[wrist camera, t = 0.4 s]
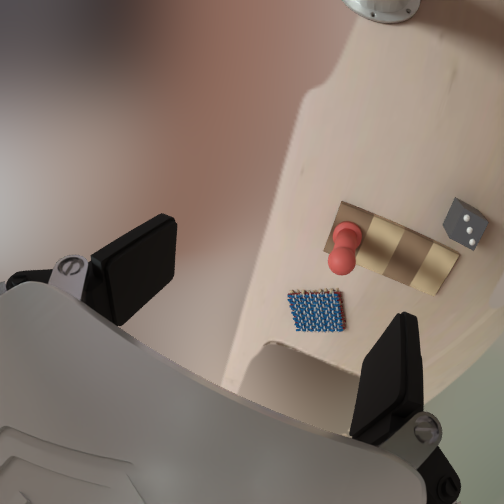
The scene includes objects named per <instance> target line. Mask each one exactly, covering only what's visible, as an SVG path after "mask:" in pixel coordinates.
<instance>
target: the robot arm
mask: <svg viewBox="0 0 504 504" xmlns="http://www.w3.org/2000/svg"><path fill="white" fill-rule="evenodd" d="M342 1H343V2H344V3H345V5H346V6H348V7H349V8H350V9H351V10H352V11H354V12H355V13H357V14H358V15H360V16H362V17H364V18H366V19H369V20H372V21H376V22H381V23H399V22H402V21H405V20H407V19H409V18H411V17H412V16H413V15H414V14H415V13H416V12H417V10H418V8H419V6H420V1H421V0H342ZM407 12H409V13H407ZM372 15H374V16H375V17H372ZM176 236H177V223H176V222H175V219H174V218H173V217H171V216H168V215H165V214H162V213H161V214H159V215H157V216H156V217H154V218H152V219H150V220H149V221H147V222H145V223H143V224H142V225H140V226H138V227H136V228H135V229H133V230H131V231H129V232H128V233H126V234H124V235H123V236H121V237H119V238H118V239H116V240H115V241H113V242H111V243H110V244H108V245H106V246H105V247H103V248H102V249H100V250H99V251H97V252H95V253H94V254H92V255H91V261H90V262H87V259H86V258H84V257H83V256H80V255H68V256H65V257H63V258H61V259H60V260H59V261H57V262H56V264H55V266H54V268H53V269H50V270H49V269H48V270H31V271H20V272H16V273H15V274H14V275H12V276H11V277H10V278H9V279H8V281H7V283H6V284H5V281H4V282H0V504H461V503H460V502H458V503H457V501H456V500H457V498H458V496H459V493H460V490H461V483H460V479H459V477H458V475H457V473H456V472H455V470H454V469H453V467H452V466H451V464H450V463H449V461H448V460H447V458H446V457H445V455H444V454H443V452H442V451H441V449H440V448H439V447H438V445H439V443H440V441H441V438H442V427H441V424H440V422H439V420H438V419H437V418H436V417H435V416H434V415H433V414H431V413H429V412H424V411H423V405H424V397H423V365H422V356H421V351H420V339H419V329H418V320H417V317H416V316H414V315H412V314H409V313H407V312H402V313H401V314H399V313H398V314H396V316H395V317H394V319H393V320H392V322H391V323H390V324H389V326H388V327H387V329H386V330H385V331H384V333H383V334H382V336H381V337H380V338H379V340H378V341H377V342H376V344H375V345H374V346H373V348H372V349H371V350H370V352H369V353H368V354H367V355H366V357H365V359H364V361H363V363H362V369H361V376H360V382H359V388H358V394H357V399H356V404H355V409H354V414H353V419H352V423H351V428H350V433H349V434H350V436H352V438H348V437H345V436H342V435H339V434H335V433H333V432H330V431H327V430H324V429H321V428H318V427H315V426H313V425H310V424H307V423H304V422H301V421H298V420H296V419H293V418H291V417H288V416H286V415H283V414H281V413H278V412H275V411H273V410H271V409H268V408H266V407H264V406H261V405H259V404H257V403H254V402H252V401H250V400H248V399H246V398H243V397H241V396H239V395H237V394H235V393H233V392H231V391H228V390H226V389H224V388H222V387H220V386H218V385H216V384H214V383H212V382H210V381H208V380H206V379H204V378H203V377H201V376H199V375H197V374H195V373H193V372H191V371H189V370H188V369H186V368H184V367H182V366H180V365H179V364H177V363H175V362H173V361H172V360H170V359H168V358H167V357H165V356H163V355H161V354H160V353H158V352H156V351H155V350H153V349H151V348H150V347H148V346H146V345H145V344H143V343H142V342H140V341H139V340H137V339H136V338H134V337H132V336H131V335H129V334H128V333H126V332H125V331H123V330H122V329H120V328H119V327H117V326H122V325H123V324H124V323H126V322H127V321H128V320H129V319H130V318H131V317H132V316H133V315H134V314H135V313H136V312H137V311H138V310H139V309H140V308H142V307H143V306H144V305H145V304H146V303H147V302H148V301H149V300H150V299H152V297H154V296H155V295H156V294H157V293H158V292H159V291H160V290H162V289H163V287H165V286H166V285H167V284H168V283H169V282H170V281H171V280H172V279H173V277H174V270H175V269H174V268H175V251H176Z"/></svg>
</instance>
